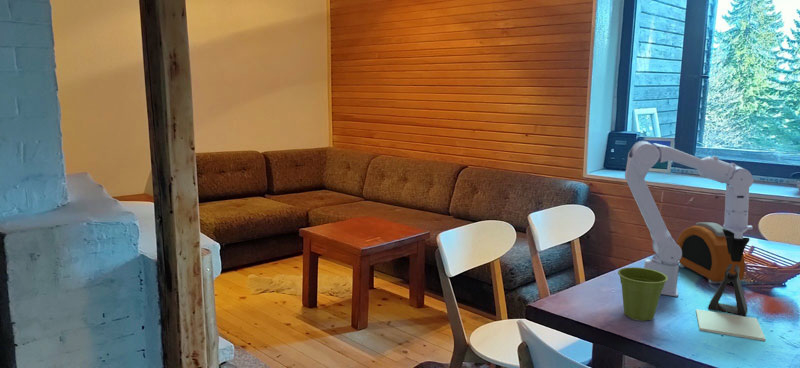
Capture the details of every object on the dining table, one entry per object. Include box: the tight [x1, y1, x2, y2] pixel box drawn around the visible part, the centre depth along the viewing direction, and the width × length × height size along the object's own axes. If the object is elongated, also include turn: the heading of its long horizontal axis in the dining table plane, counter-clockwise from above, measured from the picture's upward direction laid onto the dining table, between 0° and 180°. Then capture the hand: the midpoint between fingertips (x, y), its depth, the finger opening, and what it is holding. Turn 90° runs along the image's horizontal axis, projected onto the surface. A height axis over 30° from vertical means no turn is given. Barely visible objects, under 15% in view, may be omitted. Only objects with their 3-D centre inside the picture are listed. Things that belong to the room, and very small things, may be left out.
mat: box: [695, 308, 766, 342], centre depth 151 cm, size 14×14×1 cm
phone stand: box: [707, 264, 749, 317], centre depth 161 cm, size 9×6×12 cm, turn 56°
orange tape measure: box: [675, 221, 746, 284], centre depth 190 cm, size 23×9×17 cm, turn 6°
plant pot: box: [617, 266, 668, 322], centre depth 154 cm, size 12×12×11 cm
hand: (734, 257), depth 169 cm, fingers open, 7 cm apart
